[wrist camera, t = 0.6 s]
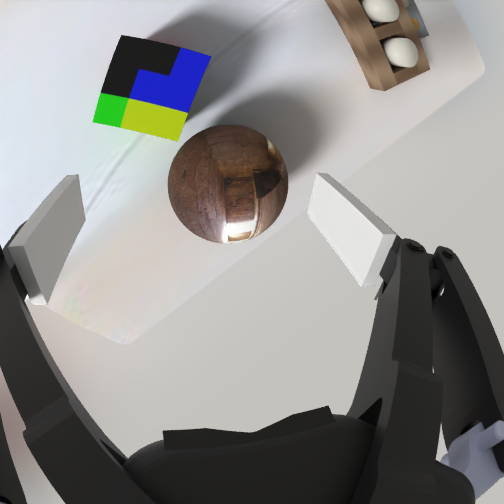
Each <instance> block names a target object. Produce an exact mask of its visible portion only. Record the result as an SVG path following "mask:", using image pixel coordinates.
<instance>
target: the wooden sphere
mask: <svg viewBox="0 0 504 504" xmlns="http://www.w3.org/2000/svg"><path fill="white" fill-rule="evenodd" d="M287 193H288V174H287V169H286V166H285V163H284V160H283V158H282V156H281V154H280V153H279V151H278V150H277V148H276V147H275V146H274V145H273V144H272V142H271V141H269V140H268V139H267V138H266V137H265V136H263V135H262V134H260V133H258V132H257V131H255V130H252V129H250V128H247V127H244V126H239V125H218V126H214V127H210V128H207V129H205V130H203V131H201V132H199V133H197V134H195V135H194V136H192V137H191V138H190V139H189V140H188V141H186V142H185V143H184V145H183V146H182V147H181V148H180V149H179V151H178V152H177V154H176V156H175V157H174V159H173V162H172V164H171V167H170V171H169V176H168V194H169V199H170V202H171V205H172V208H173V210H174V212H175V214H176V215H177V217H178V218H179V220H180V221H181V222H182V223H183V225H184V226H185V227H186V228H188V229H189V230H190V231H191V232H193V233H194V234H196V235H197V236H199V237H201V238H203V239H206V240H208V241H212V242H216V243H225V244H230V243H239V242H243V241H246V240H249V239H252V238H254V237H256V236H258V235H259V234H261V233H262V232H264V231H265V230H266V229H268V228H269V227H270V226H271V225H272V224H273V223H274V221H275V220H276V219H277V217H278V216H279V214H280V213H281V211H282V209H283V207H284V204H285V201H286V198H287Z"/></svg>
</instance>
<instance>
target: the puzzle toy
mask: <svg viewBox="0 0 504 504" xmlns="http://www.w3.org/2000/svg"><path fill="white" fill-rule="evenodd" d="M210 59H211V56H208V55H205V54H202V53H198V52H195V51H192V50H188V49H184V48H181V47H177V46H173V45H169V44H165V43H160V42H156V41H151V40H146V39H141V38H136V37H130V36H124V35H121V37H120V40H119V42H118V45H117V47H116V50H115V52H114V55H113V58H112V60H111V63H110V66H109V69H108V72H107V74H106V77H105V81H104V84H103V87H102V90H101V93H100V97H99V100H98V104H97V108H96V111H95V115H94V119H93V122H94V123H100V124H105V125H110V126H115V127H119V128H124V129H129V130H133V131H137V132H142V133H146V134H150V135H154V136H158V137H162V138H166V139H170V140H174V141H178V140H179V137H180V134H181V131H182V129H183V126H184V123H185V120H186V118H187V115H188V112H189V110H190V107H191V104H192V102H193V99H194V97H195V94H196V92H197V89H198V87H199V84H200V82H201V79H202V77H203V75H204V72H205V70H206V68H207V66H208V63H209V61H210Z"/></svg>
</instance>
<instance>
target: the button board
mask: <svg viewBox="0 0 504 504" xmlns="http://www.w3.org/2000/svg"><path fill="white" fill-rule="evenodd" d="M325 2H326V3H327V5H328V6H329V8H330V10H331V11H332V13H333V15H334V16H335V18H336V20H337V21H338V23H339V25H340V27H341V29H342V30H343V32H344V34H345V36H346V38H347V40H348V42H349V43H350V45H351V47H352V49H353V51H354V53H355V55H356V57H357V60H358V62H359V64H360V66H361V68H362V70H363V72H364V75H365V77H366V79H367V82H368V84H369V86H370V88H372V89H377V90H381V91H386V90H388V89H390V88H392V87H394V86H396V85H398V84H400V83H402V82H404V81H407V80H409V79H411V78H413V77H415V76H417V75H419V74H421V73H423V72H426V71H428V70H430V67H429V64H428V61H427V58H426V55H425V53H424V50H423V47H422V45H421V42H420V38H423V37H426V36H429V34H428V32H427V29H426V27H425V24H424V22H423V20H422V17H421V15H420V13H419V11H418V9H417V6H416V4H415V2H414V0H395V2H396V3H397V5H398V8H399V17H398V18H397V19H396V20H395V21H391V22H382V23H379V24H376V25H373V26H372V25H371V23H370V21H369V19H368V17H367V15H366V13H365V11H364V10H363V8H362V6H361V4H360V2H359V1H358V0H325ZM389 36H391V38H407V39H409V40H411V41H412V42H413V43H414V44H415V46H416V48H417V51H418V61H417V63H416V65H415V66H413V67H402V66H394V65H393V66H390V64H389V62H388V59H387V57H386V55H385V52H384V50H383V48H382V46H381V43H380V41H379V40H381V39H384V38H386V37H389Z"/></svg>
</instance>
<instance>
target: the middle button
mask: <svg viewBox="0 0 504 504" xmlns="http://www.w3.org/2000/svg"><path fill="white" fill-rule="evenodd" d="M360 4H361V6H362V8H363V10H364V11H365V13H366V15H367V17H368V19H369V21H371V22H374V23H380V22H391V21H395V20H396V19H397V18H398V17H399V8H398V5H397V3H396V2H395V0H360Z"/></svg>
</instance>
